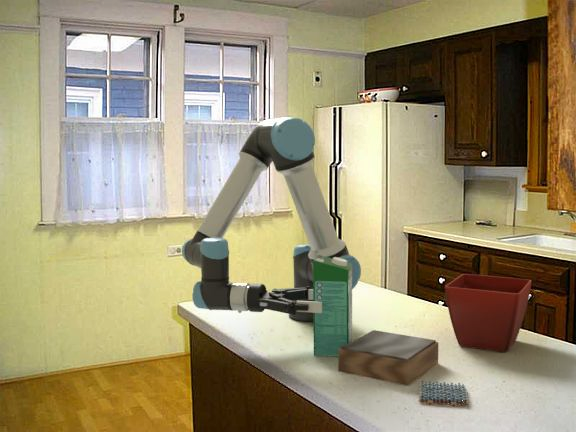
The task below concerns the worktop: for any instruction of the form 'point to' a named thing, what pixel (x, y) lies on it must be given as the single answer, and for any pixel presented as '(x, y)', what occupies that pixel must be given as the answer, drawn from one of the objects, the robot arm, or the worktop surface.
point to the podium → (388, 357)
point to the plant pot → (487, 310)
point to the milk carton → (332, 304)
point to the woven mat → (443, 394)
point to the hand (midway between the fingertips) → (327, 301)
